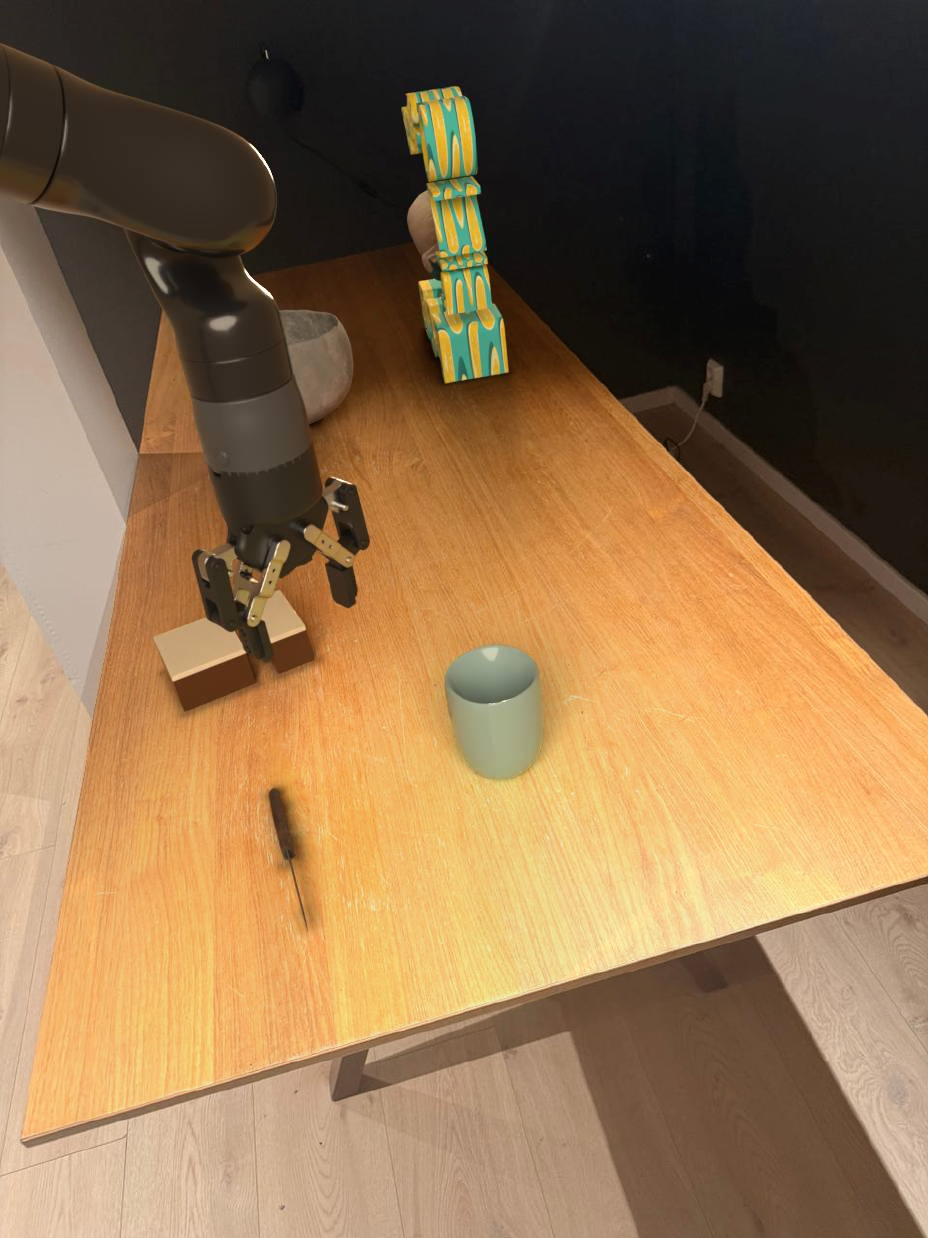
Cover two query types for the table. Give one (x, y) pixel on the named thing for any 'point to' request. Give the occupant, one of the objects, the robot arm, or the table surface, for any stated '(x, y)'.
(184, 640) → the cake
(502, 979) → the table surface
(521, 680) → the cup
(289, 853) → the knife
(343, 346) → the bowl
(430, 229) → the party decoration
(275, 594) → the slice
